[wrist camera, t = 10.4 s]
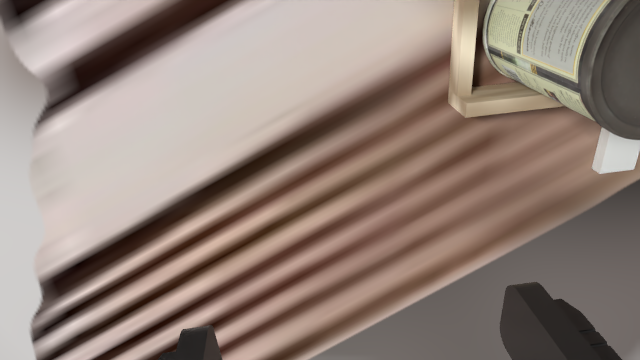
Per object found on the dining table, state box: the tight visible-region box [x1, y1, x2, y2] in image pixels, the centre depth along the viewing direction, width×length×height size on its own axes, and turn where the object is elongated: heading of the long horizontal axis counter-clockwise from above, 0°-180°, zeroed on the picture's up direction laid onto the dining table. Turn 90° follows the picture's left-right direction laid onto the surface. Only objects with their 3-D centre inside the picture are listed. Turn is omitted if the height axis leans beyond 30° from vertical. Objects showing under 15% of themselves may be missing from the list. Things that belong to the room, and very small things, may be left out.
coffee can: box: [483, 0, 640, 140], centre depth 30 cm, size 10×10×14 cm
